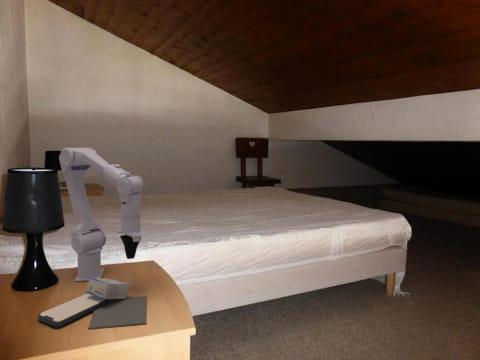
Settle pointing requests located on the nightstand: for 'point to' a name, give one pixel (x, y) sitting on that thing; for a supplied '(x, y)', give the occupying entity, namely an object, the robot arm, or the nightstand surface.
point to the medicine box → (107, 288)
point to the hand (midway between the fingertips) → (130, 258)
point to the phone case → (71, 310)
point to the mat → (120, 313)
